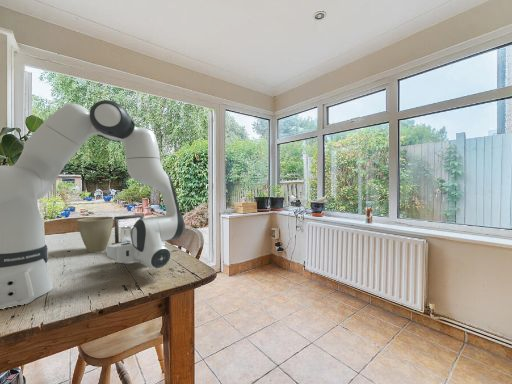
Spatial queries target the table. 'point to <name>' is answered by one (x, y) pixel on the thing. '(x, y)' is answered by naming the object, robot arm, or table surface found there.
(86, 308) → the table surface
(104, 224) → the plant pot
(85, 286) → the table surface
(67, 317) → the table surface
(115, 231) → the dolly
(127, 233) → the beer glass
